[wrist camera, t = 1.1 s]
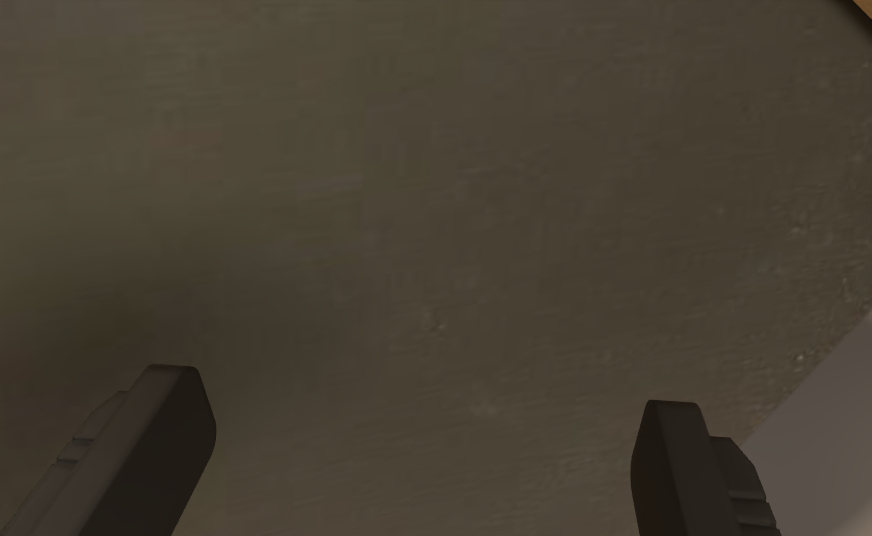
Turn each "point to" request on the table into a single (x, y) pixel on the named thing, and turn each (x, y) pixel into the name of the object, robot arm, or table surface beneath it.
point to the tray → (865, 6)
